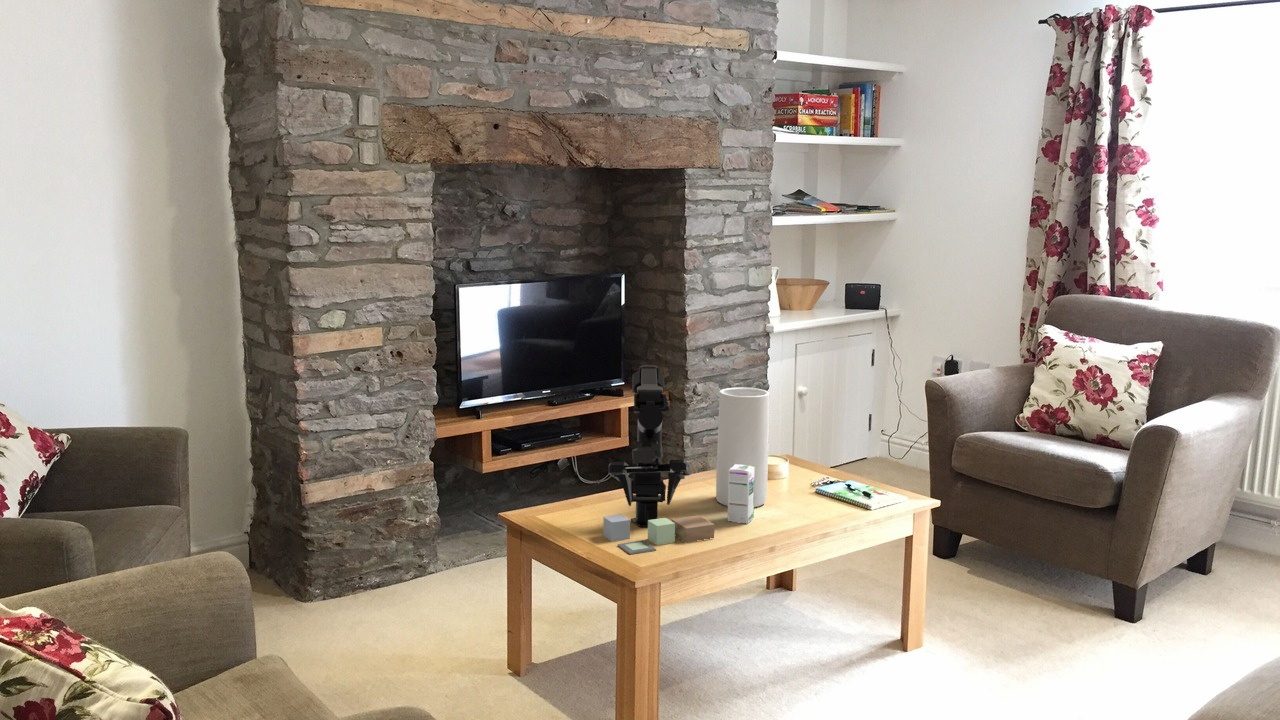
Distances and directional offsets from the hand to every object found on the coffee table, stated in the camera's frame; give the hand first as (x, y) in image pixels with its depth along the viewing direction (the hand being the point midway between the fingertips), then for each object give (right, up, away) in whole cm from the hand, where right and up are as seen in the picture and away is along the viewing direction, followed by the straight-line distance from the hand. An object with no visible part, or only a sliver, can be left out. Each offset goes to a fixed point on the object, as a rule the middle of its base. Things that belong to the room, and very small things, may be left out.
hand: (649, 505), depth 241 cm
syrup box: (+25, -9, +34) cm, 43 cm away
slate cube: (-8, -11, +19) cm, 23 cm away
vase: (+26, -6, +50) cm, 57 cm away
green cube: (+3, -11, +17) cm, 21 cm away
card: (-3, -12, +11) cm, 17 cm away
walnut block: (+11, -11, +21) cm, 26 cm away
